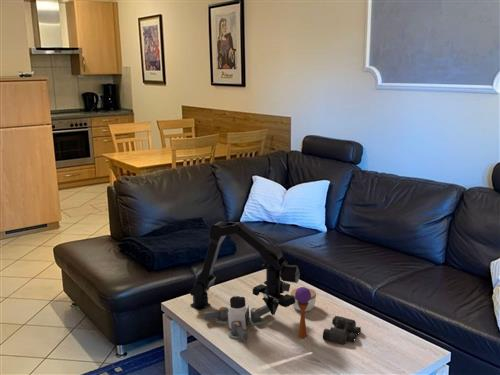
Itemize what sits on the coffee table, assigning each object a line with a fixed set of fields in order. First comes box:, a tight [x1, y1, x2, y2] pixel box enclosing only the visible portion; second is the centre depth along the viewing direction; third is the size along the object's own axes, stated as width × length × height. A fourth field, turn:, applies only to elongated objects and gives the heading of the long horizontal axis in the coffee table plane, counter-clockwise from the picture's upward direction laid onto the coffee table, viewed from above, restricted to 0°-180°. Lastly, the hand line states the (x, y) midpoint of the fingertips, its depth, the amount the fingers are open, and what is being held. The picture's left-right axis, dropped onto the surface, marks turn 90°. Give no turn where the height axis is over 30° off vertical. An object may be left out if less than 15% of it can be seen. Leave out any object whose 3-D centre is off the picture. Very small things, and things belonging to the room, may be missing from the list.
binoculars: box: [322, 315, 362, 345], centre depth 189 cm, size 11×16×6 cm
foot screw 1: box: [203, 306, 230, 321], centre depth 200 cm, size 10×4×4 cm, turn 105°
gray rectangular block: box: [230, 321, 248, 341], centre depth 187 cm, size 10×4×4 cm, turn 25°
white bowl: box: [290, 287, 317, 313], centre depth 210 cm, size 11×11×9 cm
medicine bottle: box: [228, 294, 250, 330], centre depth 196 cm, size 7×7×12 cm
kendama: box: [295, 286, 311, 339], centre depth 186 cm, size 6×6×20 cm
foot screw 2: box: [249, 304, 271, 322], centre depth 202 cm, size 10×4×4 cm, turn 135°
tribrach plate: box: [214, 316, 264, 340], centre depth 199 cm, size 19×20×1 cm
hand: (273, 314), depth 201 cm, fingers closed
